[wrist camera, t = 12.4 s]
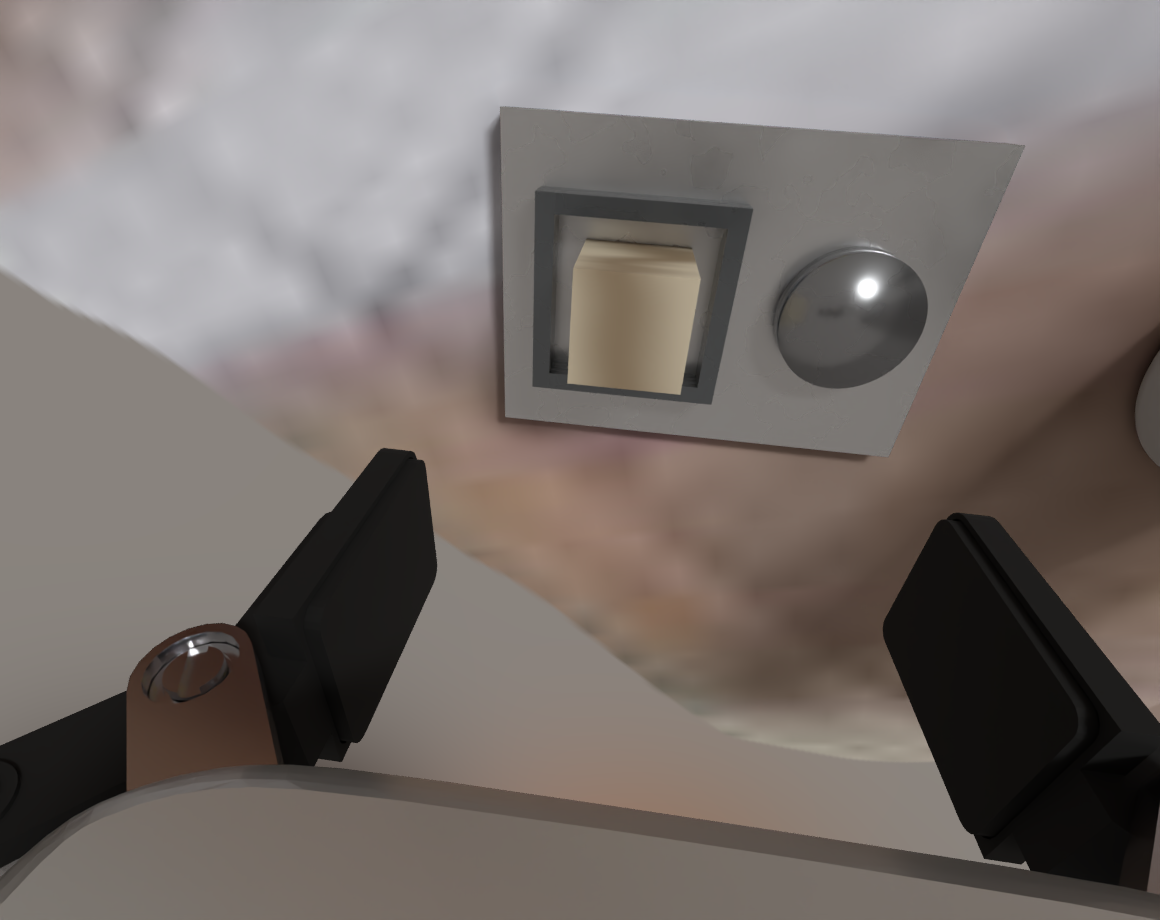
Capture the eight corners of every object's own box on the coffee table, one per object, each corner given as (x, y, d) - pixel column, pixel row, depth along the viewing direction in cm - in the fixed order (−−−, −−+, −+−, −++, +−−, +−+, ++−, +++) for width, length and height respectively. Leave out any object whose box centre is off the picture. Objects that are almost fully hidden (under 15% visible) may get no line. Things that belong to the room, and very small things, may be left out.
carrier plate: (1010, 143, 22) (1049, 148, 20) (881, 446, 29) (899, 473, 27) (505, 106, 23) (491, 107, 21) (509, 408, 30) (499, 431, 28)
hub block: (691, 247, 24) (700, 279, 20) (675, 348, 27) (680, 394, 22) (586, 238, 24) (573, 268, 20) (580, 338, 27) (567, 383, 23)
